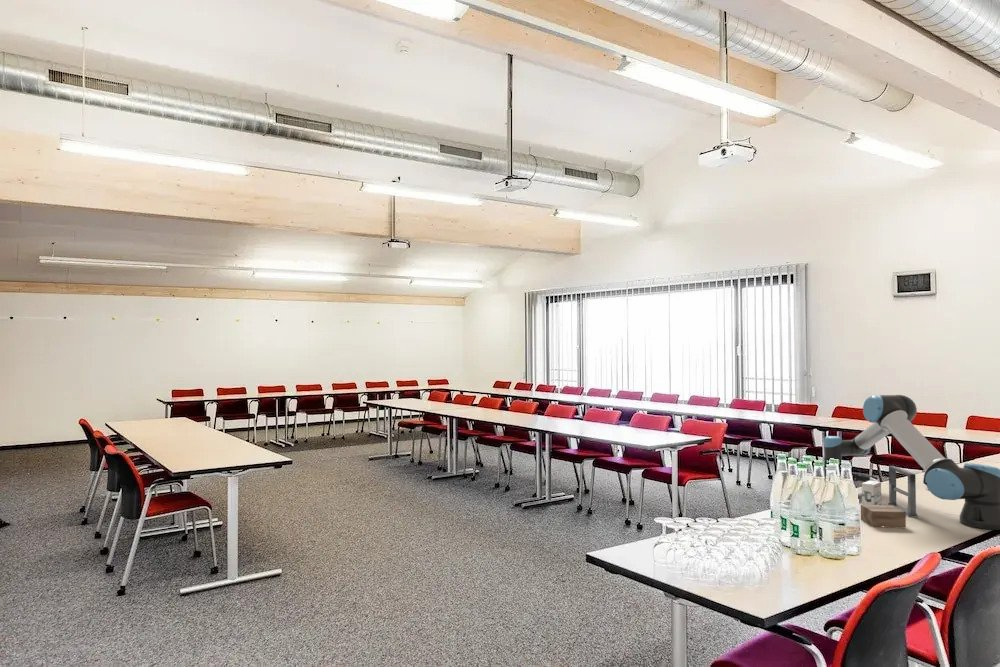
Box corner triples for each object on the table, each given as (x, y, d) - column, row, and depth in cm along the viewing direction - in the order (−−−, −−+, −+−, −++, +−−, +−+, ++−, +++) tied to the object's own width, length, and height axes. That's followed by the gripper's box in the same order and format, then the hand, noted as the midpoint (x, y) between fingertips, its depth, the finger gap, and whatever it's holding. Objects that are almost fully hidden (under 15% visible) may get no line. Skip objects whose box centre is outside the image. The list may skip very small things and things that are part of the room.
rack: (917, 516, 258) (916, 474, 258) (909, 516, 258) (908, 474, 258) (895, 505, 275) (894, 465, 276) (888, 505, 276) (887, 465, 276)
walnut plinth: (905, 527, 242) (905, 512, 242) (872, 526, 244) (872, 511, 244) (892, 520, 252) (892, 505, 252) (860, 519, 254) (860, 504, 254)
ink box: (869, 507, 273) (868, 479, 273) (881, 509, 269) (881, 481, 269) (861, 510, 267) (861, 482, 267) (874, 513, 263) (874, 484, 264)
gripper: (869, 481, 298) (891, 492, 277) (813, 480, 301) (830, 491, 280) (869, 465, 298) (891, 475, 277) (813, 464, 301) (830, 474, 280)
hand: (860, 483), depth 278 cm, fingers open, 13 cm apart
